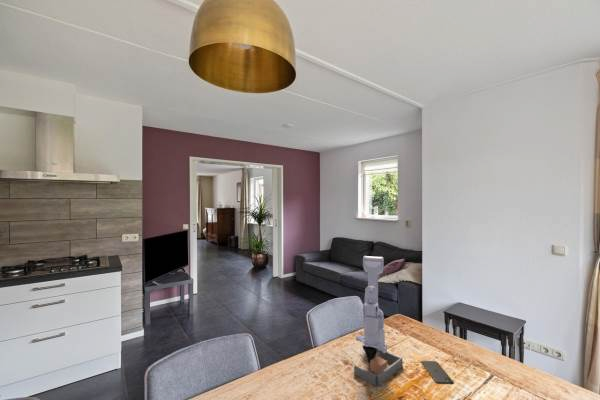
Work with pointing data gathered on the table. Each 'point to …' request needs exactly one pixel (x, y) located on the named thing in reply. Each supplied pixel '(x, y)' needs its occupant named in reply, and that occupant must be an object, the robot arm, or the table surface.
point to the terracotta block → (378, 365)
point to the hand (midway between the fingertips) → (370, 362)
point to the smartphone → (437, 372)
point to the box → (384, 374)
